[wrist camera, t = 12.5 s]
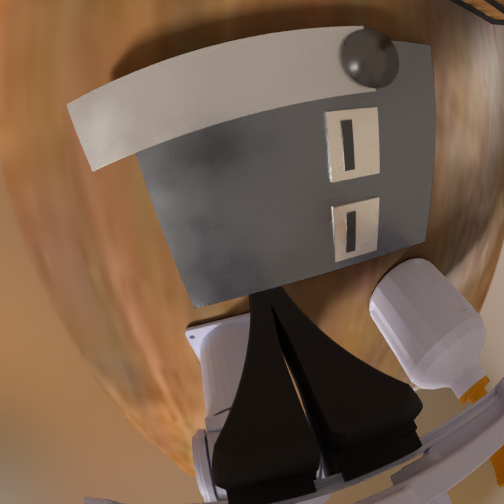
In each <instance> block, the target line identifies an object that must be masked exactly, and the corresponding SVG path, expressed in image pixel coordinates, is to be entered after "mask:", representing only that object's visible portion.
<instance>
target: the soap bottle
mask: <svg viewBox="0 0 504 504" xmlns="http://www.w3.org/2000/svg"><path fill="white" fill-rule="evenodd" d="M369 311H370V314H371V317H372V319H373V320H374V322H375V324H376V325H377V327H378V328H379V330H380V331H381V333H382V334H383V336H384V338H385V339H386V341H387V342H388V344H389V346H390V347H391V349H392V350H393V352H394V354H395V355H396V357H397V359H398V360H399V362H400V364H401V365H402V367H403V368H404V370H405V372H406V374H407V375H408V377H409V379H410V380H411V382H413V383H414V384H416V385H417V386H419V387H421V388H424V389H437V388H442V387H450V388H452V390H453V391H454V393H455V394H456V396H457V398H458V399H459V400H460V402H461V404H464V403H466V402H468V401H469V400H470V401H471V403H472V404H474V403H475V402H476V401H478V400H479V399H481V398H482V397H483V396H485V395H486V394H487V392H486V390H485V389H484V387H485V386H486V385H487V384H488V383H489V381H490V380H489V379H488V377H487V376H486V374H485V373H484V371H483V370H482V368H481V367H480V365H479V358H480V354H481V351H482V349H483V346H484V342H485V336H486V330H485V326H484V323H483V320H482V318H481V316H480V315H479V314H478V313H477V312H476V310H475V309H474V308H473V307H472V306H471V305H470V304H469V302H468V301H467V300H466V299H465V298H464V297H463V296H462V295H461V294H460V292H459V291H458V290H457V289H456V288H455V287H454V286H453V285H452V284H451V283H450V282H449V281H448V280H447V279H446V278H445V277H444V275H443V274H442V273H441V272H440V271H439V270H438V269H437V268H436V267H435V266H434V265H433V264H432V263H431V262H430V261H427V260H425V259H422V258H415V259H409V260H407V261H405V262H403V263H401V264H399V265H397V266H396V267H395V268H393V269H392V270H391V271H390V272H388V273H387V274H386V275H385V276H384V278H383V279H382V280H381V281H380V282H379V283H378V285H377V286H376V288H375V290H374V292H373V294H372V296H371V299H370V304H369ZM489 458H490V460H491V462H492V465H493V467H494V469H495V473H496V478H497V483H498V486H499V487H502V486H504V445H503V446H501V447H500V448H499V449H498V450H497V451H496V452H495V453H494V454H493V455H492V456H491V457H489Z"/></svg>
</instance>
